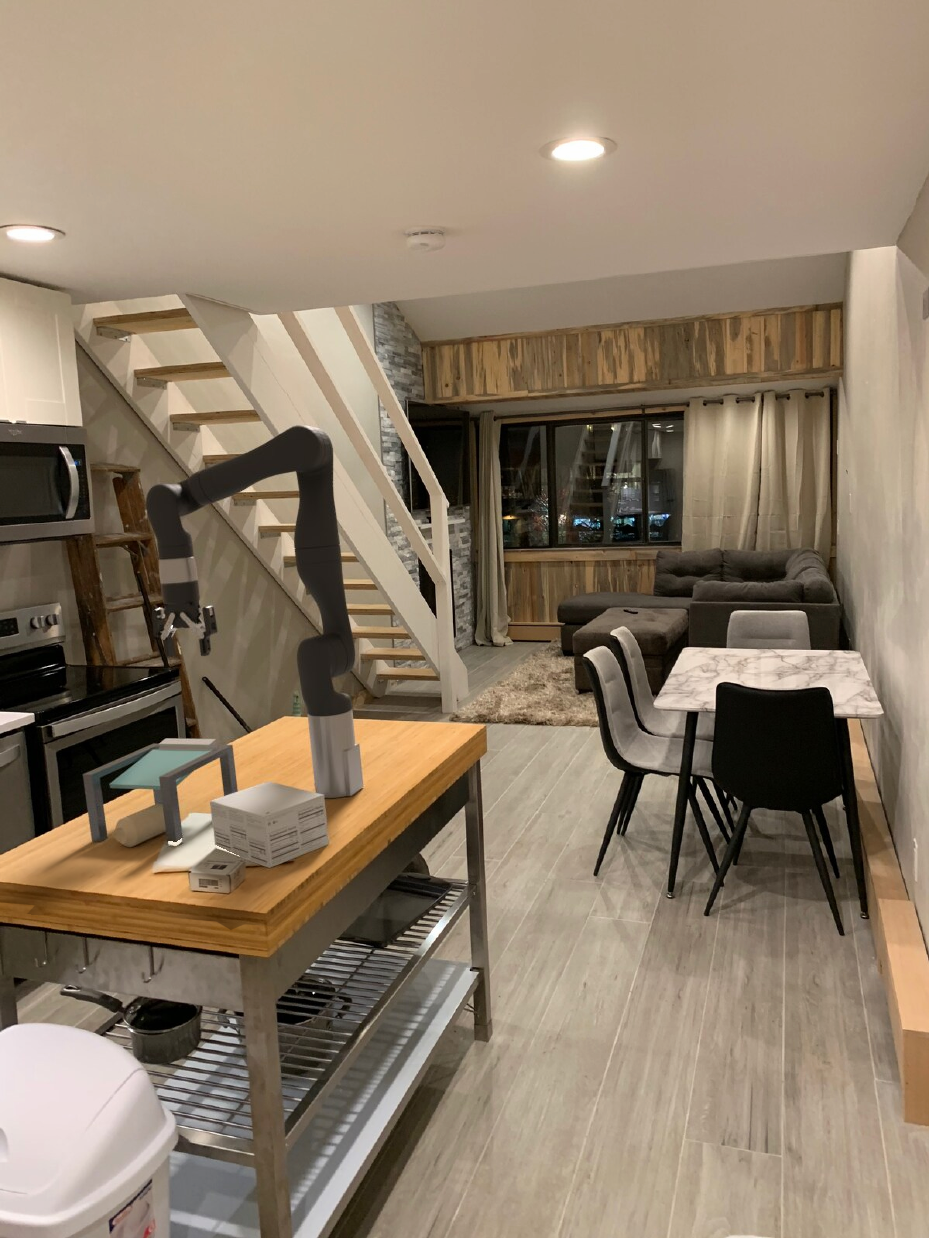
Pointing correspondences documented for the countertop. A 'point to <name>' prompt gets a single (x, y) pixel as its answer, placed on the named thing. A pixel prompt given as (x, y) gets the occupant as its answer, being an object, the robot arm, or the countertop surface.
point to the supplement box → (270, 823)
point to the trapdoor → (163, 763)
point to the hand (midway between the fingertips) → (188, 656)
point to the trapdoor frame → (163, 796)
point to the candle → (140, 826)
